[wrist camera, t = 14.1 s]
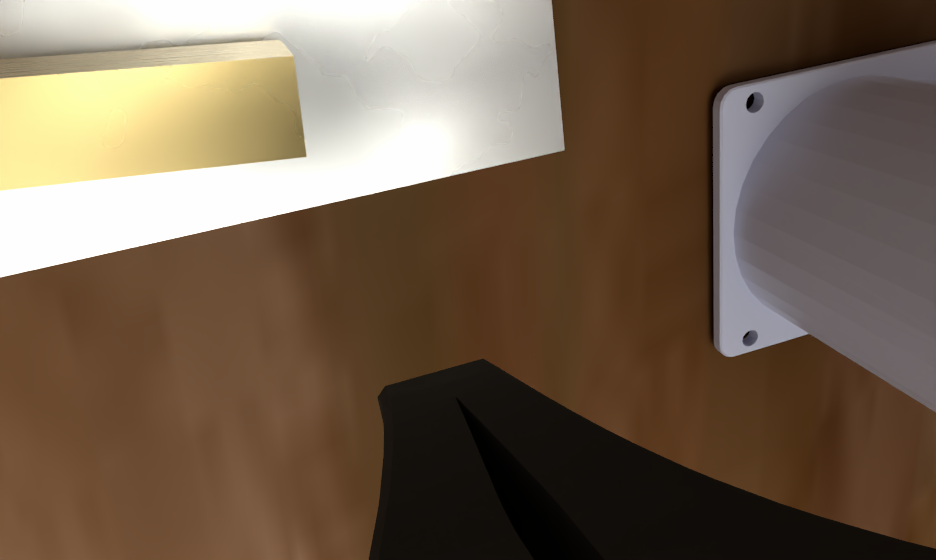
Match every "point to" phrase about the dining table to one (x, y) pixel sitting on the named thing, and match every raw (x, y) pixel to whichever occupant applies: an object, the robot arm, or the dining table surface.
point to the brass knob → (146, 112)
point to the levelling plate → (322, 109)
